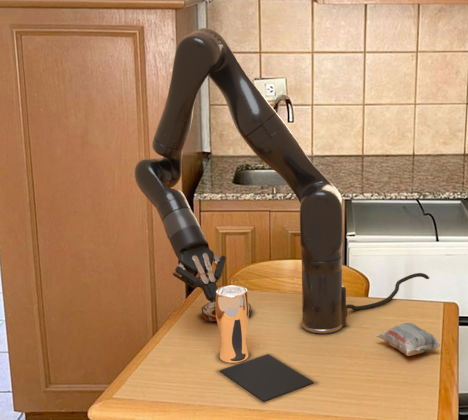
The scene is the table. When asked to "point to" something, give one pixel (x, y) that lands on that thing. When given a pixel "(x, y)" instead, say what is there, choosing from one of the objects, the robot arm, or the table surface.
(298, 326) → the table surface
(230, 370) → the mat
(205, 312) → the floral plate with food
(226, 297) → the copper cup
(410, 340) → the packaged food
